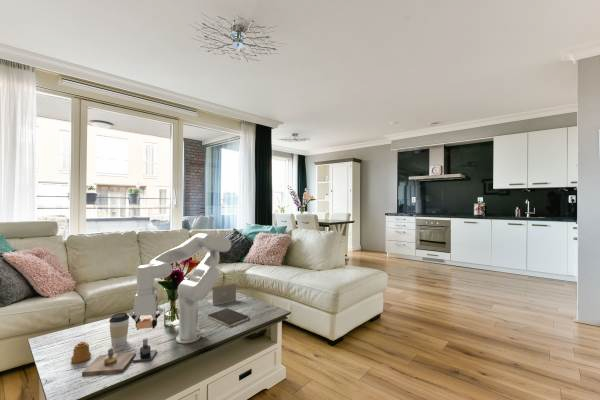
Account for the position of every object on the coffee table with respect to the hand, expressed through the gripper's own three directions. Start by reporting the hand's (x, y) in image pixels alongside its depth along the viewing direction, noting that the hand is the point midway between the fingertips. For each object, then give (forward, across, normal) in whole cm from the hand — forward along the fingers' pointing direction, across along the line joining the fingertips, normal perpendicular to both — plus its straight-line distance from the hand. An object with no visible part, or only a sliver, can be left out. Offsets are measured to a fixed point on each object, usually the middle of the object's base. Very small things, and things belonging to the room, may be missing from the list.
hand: (146, 327), depth 138 cm
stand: (+14, +1, +1) cm, 14 cm away
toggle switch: (+14, +14, +6) cm, 20 cm away
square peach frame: (-1, 0, 0) cm, 1 cm away
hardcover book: (+16, -34, -41) cm, 56 cm away
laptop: (+16, -26, -76) cm, 82 cm away
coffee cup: (+14, +20, -16) cm, 29 cm away
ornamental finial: (+14, +30, -1) cm, 33 cm away
